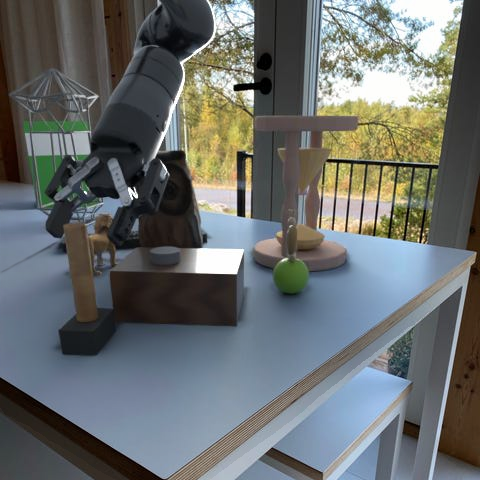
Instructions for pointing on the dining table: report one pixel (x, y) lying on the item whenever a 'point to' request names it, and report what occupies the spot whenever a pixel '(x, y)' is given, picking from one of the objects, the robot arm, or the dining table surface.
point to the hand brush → (84, 300)
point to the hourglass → (303, 190)
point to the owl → (173, 209)
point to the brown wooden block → (179, 288)
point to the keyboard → (131, 241)
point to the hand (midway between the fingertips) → (82, 238)
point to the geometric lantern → (37, 89)
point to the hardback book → (55, 152)
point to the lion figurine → (101, 242)
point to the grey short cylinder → (165, 255)
